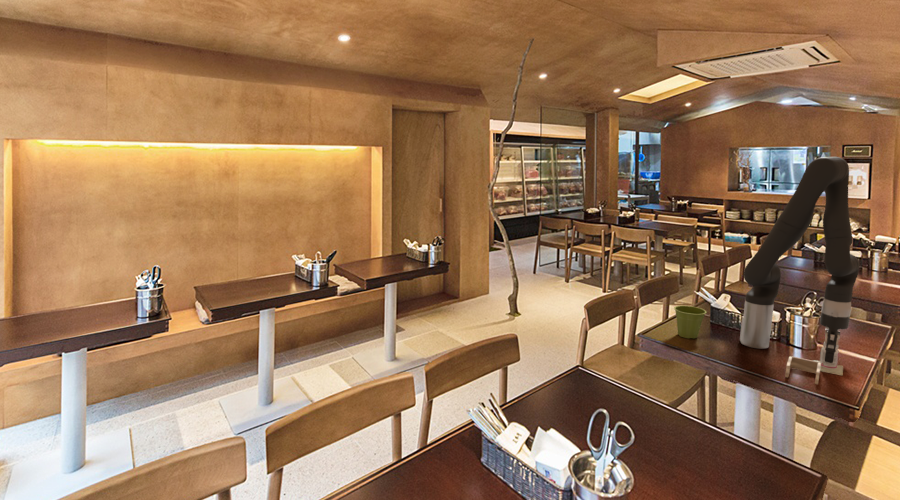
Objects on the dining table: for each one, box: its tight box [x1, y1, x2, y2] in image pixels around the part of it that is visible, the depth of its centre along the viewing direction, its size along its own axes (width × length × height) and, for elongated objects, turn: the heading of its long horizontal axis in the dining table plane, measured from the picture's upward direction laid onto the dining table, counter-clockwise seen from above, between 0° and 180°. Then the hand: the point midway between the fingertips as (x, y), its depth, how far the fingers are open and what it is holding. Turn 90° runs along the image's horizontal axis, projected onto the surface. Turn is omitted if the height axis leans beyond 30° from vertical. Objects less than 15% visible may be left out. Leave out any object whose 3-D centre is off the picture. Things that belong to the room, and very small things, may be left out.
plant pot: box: [673, 305, 707, 339], centre depth 191 cm, size 12×12×11 cm
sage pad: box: [813, 359, 844, 377], centre depth 160 cm, size 8×8×1 cm
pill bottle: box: [819, 341, 840, 369], centre depth 159 cm, size 5×5×8 cm
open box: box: [784, 355, 821, 385], centre depth 155 cm, size 10×9×4 cm
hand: (829, 358), depth 159 cm, fingers open, 8 cm apart
